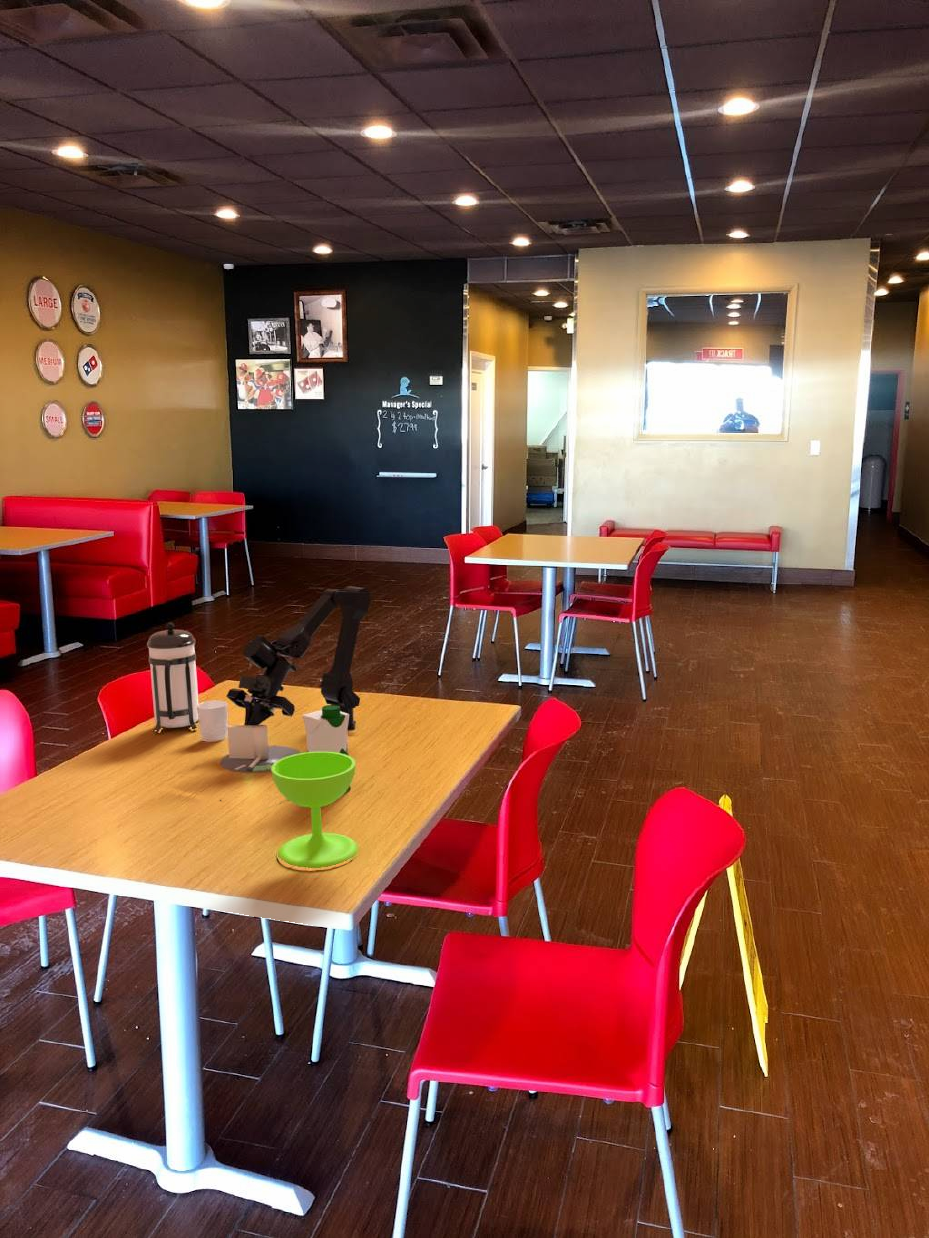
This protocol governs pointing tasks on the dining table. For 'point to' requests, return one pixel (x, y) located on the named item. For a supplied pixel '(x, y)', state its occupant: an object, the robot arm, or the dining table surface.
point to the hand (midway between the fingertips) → (245, 731)
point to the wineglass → (315, 805)
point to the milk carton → (327, 730)
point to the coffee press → (173, 678)
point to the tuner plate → (261, 765)
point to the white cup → (213, 720)
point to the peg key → (248, 742)
